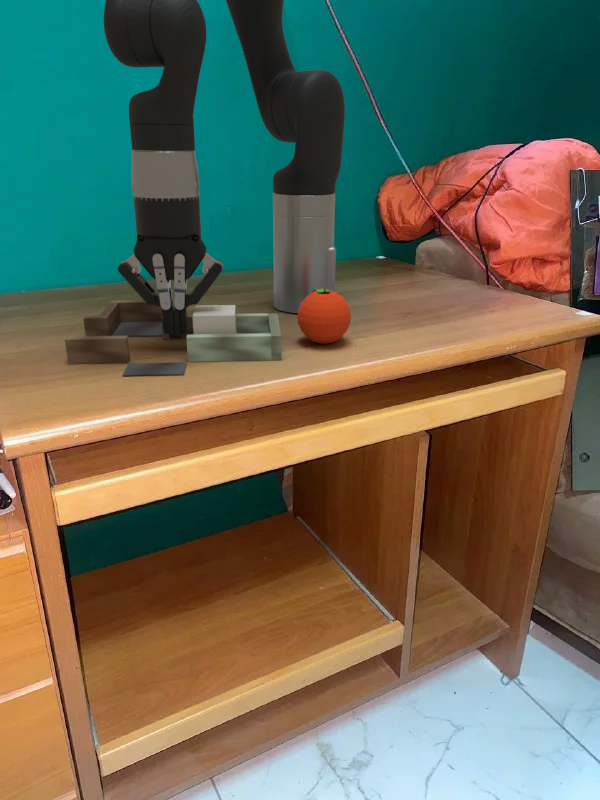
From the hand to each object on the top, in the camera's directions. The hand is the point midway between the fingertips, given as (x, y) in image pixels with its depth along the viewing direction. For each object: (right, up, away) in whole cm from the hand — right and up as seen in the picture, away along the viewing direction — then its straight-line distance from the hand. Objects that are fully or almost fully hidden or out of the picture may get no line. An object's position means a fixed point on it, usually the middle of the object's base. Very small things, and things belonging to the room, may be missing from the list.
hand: (175, 336), depth 79 cm
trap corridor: (0, -1, +2) cm, 3 cm away
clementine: (+19, 0, +4) cm, 19 cm away
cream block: (+5, -1, +1) cm, 5 cm away
